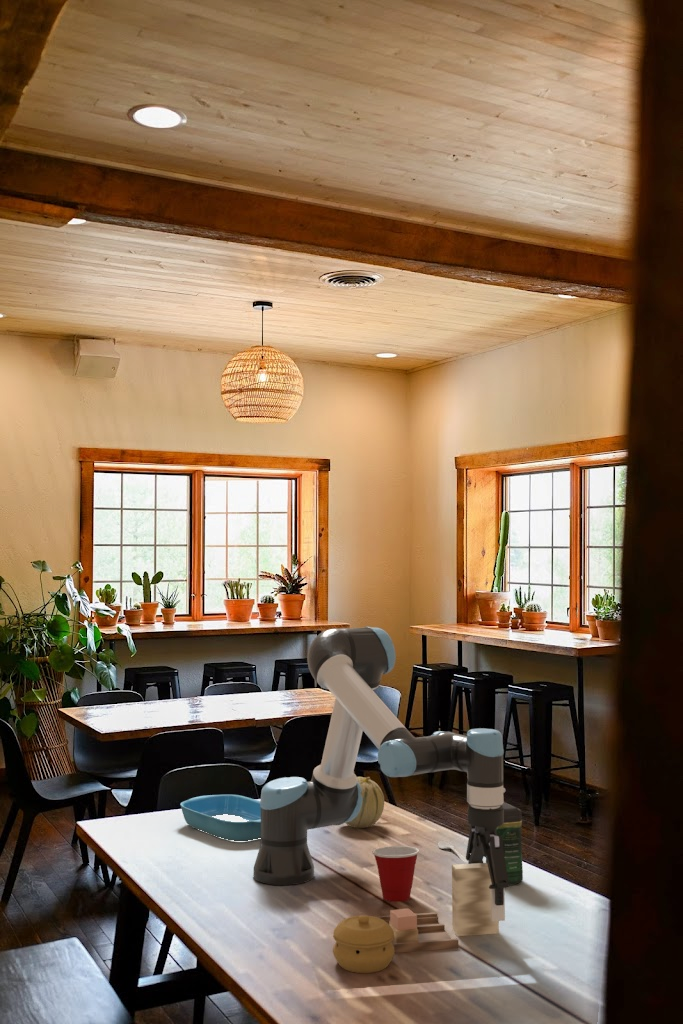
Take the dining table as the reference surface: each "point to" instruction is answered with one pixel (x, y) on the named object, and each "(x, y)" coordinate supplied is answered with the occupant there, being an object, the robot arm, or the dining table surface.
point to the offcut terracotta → (403, 919)
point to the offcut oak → (404, 935)
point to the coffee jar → (512, 842)
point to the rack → (426, 935)
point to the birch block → (472, 900)
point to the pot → (363, 944)
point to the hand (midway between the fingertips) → (486, 909)
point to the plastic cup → (396, 871)
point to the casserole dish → (205, 807)
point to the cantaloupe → (368, 804)
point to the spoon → (449, 846)
